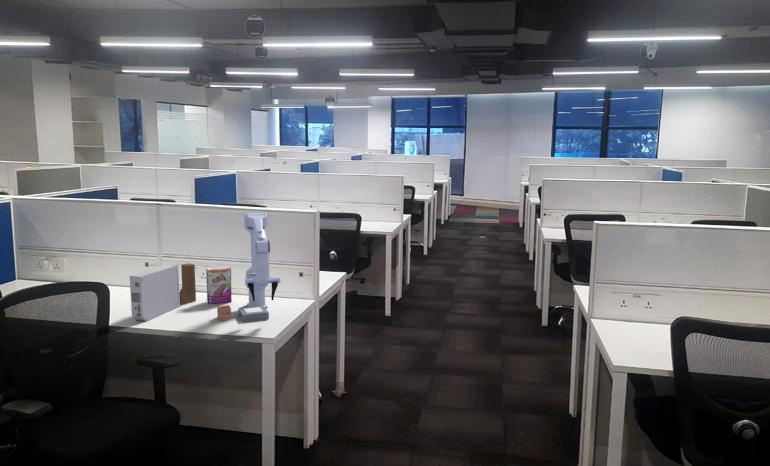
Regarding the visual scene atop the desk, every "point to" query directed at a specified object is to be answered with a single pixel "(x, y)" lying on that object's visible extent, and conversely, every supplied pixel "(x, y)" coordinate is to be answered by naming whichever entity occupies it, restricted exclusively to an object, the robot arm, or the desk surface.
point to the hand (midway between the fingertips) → (263, 300)
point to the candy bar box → (218, 285)
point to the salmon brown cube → (224, 312)
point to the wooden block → (188, 284)
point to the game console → (154, 292)
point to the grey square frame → (253, 313)
